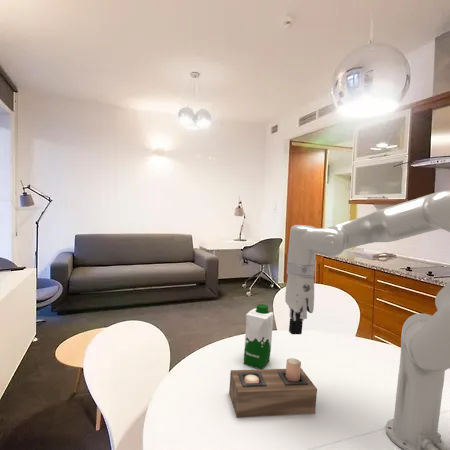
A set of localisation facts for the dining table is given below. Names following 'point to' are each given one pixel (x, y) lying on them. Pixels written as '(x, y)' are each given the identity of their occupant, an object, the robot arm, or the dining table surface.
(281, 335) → the dining table surface
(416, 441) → the robot arm
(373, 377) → the dining table surface
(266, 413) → the walnut block
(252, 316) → the milk carton
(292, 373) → the peg
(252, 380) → the peg
